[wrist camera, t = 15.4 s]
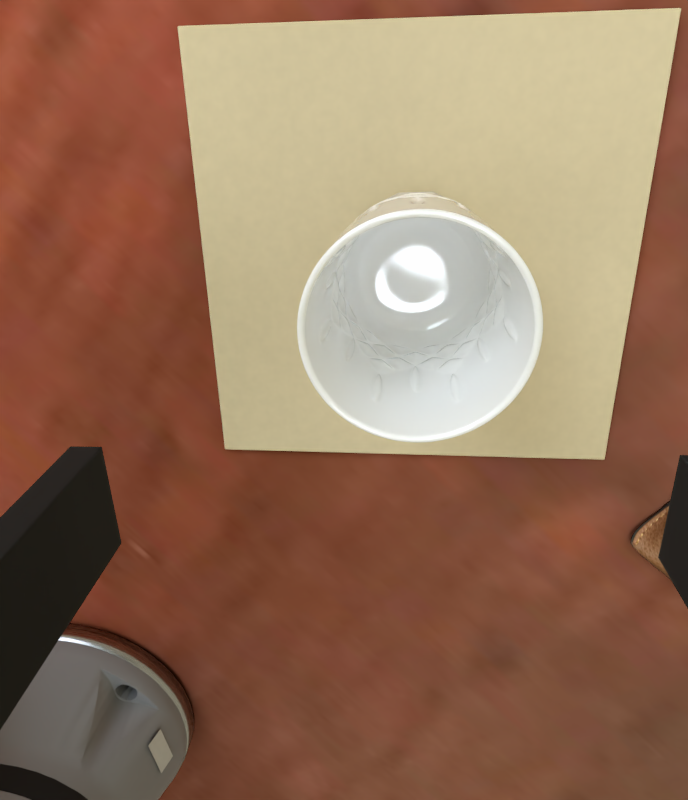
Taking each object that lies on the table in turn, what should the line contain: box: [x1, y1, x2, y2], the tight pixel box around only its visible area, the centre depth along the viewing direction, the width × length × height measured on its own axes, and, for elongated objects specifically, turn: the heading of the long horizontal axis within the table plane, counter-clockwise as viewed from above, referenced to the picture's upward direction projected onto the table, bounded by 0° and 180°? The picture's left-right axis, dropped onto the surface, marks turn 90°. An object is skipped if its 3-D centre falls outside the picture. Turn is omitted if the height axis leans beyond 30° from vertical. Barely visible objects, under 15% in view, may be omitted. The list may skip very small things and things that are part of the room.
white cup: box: [297, 191, 543, 443], centre depth 25 cm, size 8×8×10 cm
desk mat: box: [178, 8, 681, 460], centre depth 30 cm, size 20×20×1 cm
